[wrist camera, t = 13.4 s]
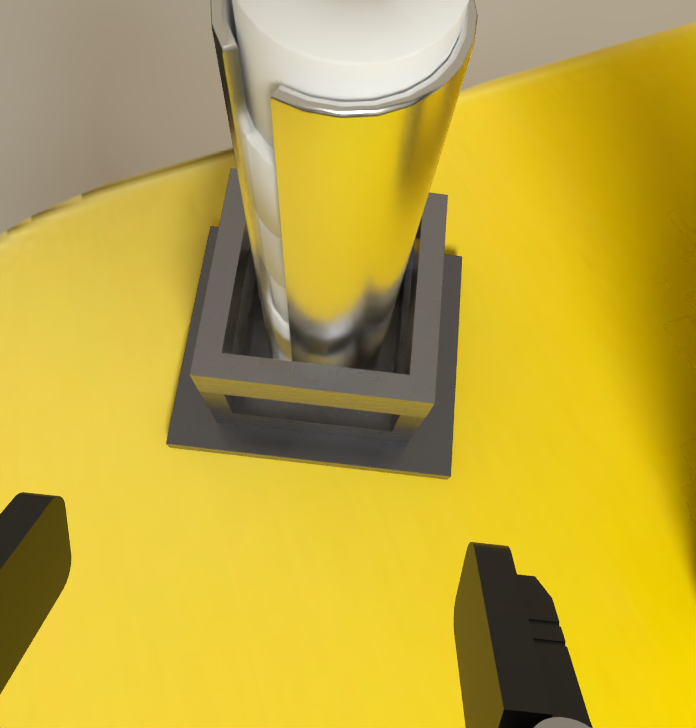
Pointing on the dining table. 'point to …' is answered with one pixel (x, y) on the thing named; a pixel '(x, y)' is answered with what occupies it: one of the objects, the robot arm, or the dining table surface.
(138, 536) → the dining table surface
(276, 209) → the silver long cylinder
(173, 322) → the dining table surface
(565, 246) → the dining table surface
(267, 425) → the grey square holder
